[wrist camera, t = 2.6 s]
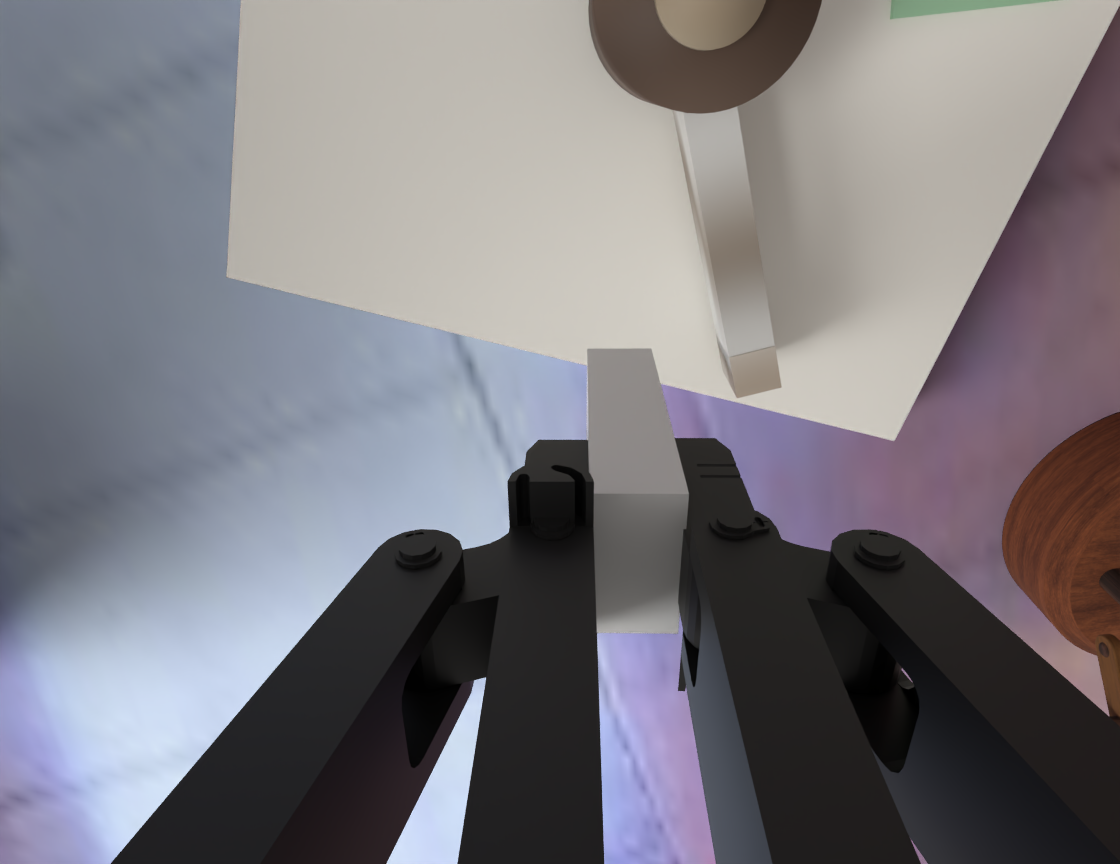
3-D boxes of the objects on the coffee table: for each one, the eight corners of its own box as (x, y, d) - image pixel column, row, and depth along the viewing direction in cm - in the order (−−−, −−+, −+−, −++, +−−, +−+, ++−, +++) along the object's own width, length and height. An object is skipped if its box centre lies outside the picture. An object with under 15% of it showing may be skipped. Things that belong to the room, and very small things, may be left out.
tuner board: (254, 261, 26) (223, 278, 24) (318, -665, 17) (277, -786, 14) (869, 413, 28) (896, 443, 26) (1229, -320, 19) (1322, -376, 17)
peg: (567, -67, 19) (567, -115, 15) (752, -129, 19) (816, -201, 14) (670, 382, 25) (694, 454, 20) (815, 346, 24) (876, 412, 20)
